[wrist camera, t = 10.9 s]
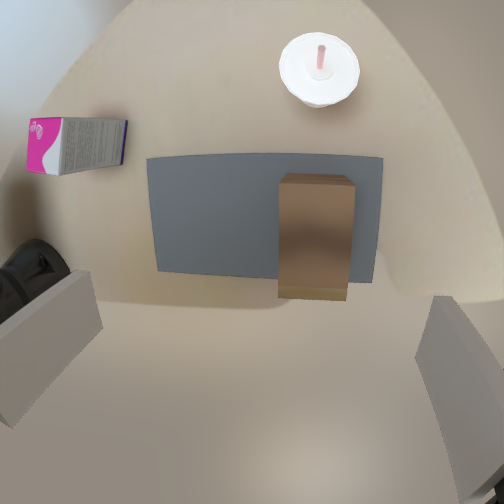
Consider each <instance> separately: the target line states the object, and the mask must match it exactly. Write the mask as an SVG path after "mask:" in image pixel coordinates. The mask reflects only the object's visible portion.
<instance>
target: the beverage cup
mask: <svg viewBox="0 0 504 504" xmlns="http://www.w3.org/2000/svg"><path fill="white" fill-rule="evenodd" d="M279 68H280V74H281V79H282V81H283V82H284V84H285V85H286V87H287V88H288V90H289V91H290V92H291V93H292V94H293V95H295V96H296V97H298V98H299V99H300V100H301V101H302V102H304V103H305V104H306V105H308V106H311V107H315V108H321V107H326V106H328V105H331V104H335V103H337V102H339V101H341V100H343V99H345V98H347V97H348V96H349V94H350V93H351V92H352V91H353V89H354V88H355V87H356V86H357V82H358V78H359V74H360V69H359V64H358V60H357V57H356V55H355V54H354V52H353V51H352V50H351V48H350V47H349V45H347V44H346V43H345V42H343V41H342V40H340V39H339V38H337V37H336V36H332V35H329V34H325V33H321V32H318V33H307V34H303V35H301V36H299V37H297V38H295V39H293V40H291V42H290V43H289V44H288V45H287V46H286V47H285V49H284V50H283V51H282V55H281V58H280V62H279Z"/></svg>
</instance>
